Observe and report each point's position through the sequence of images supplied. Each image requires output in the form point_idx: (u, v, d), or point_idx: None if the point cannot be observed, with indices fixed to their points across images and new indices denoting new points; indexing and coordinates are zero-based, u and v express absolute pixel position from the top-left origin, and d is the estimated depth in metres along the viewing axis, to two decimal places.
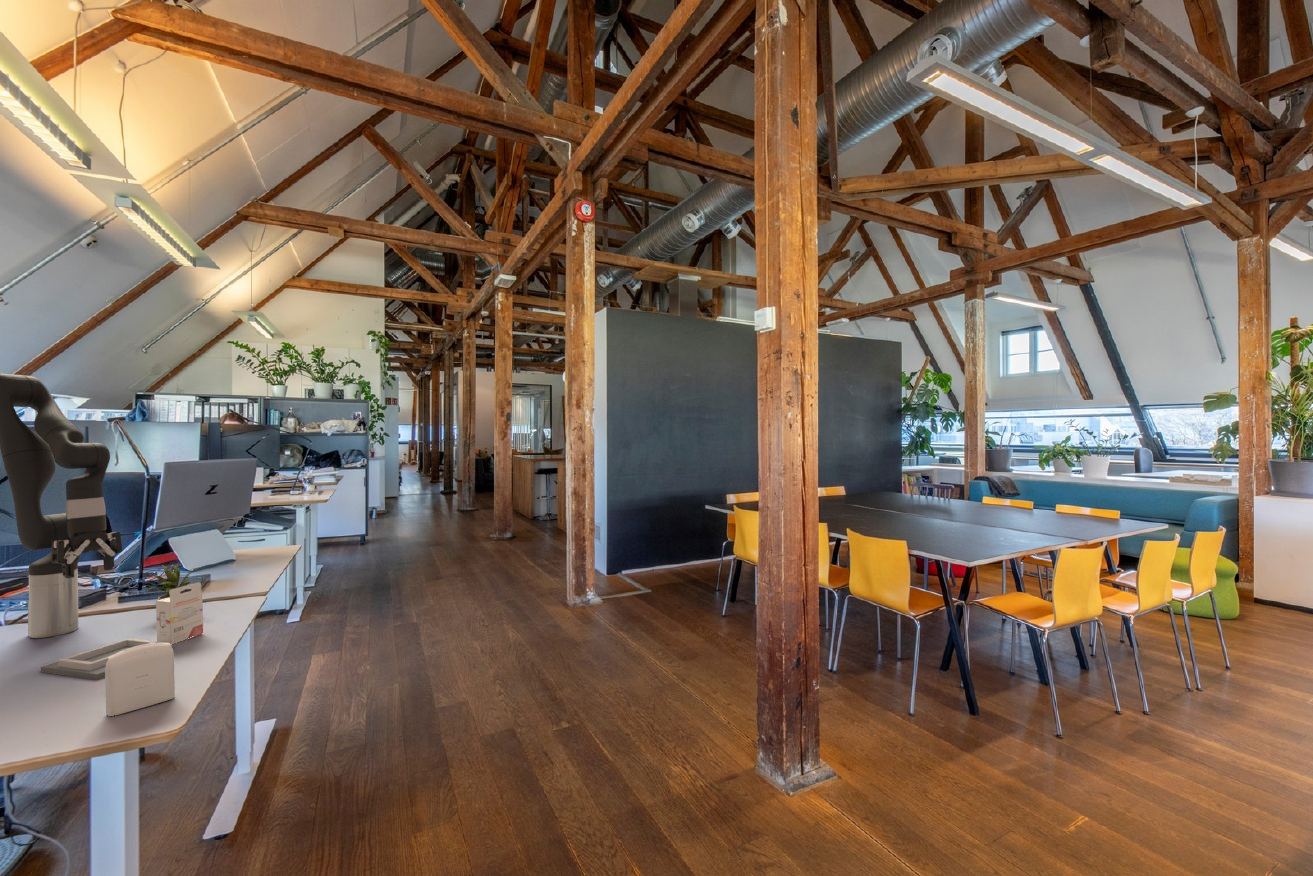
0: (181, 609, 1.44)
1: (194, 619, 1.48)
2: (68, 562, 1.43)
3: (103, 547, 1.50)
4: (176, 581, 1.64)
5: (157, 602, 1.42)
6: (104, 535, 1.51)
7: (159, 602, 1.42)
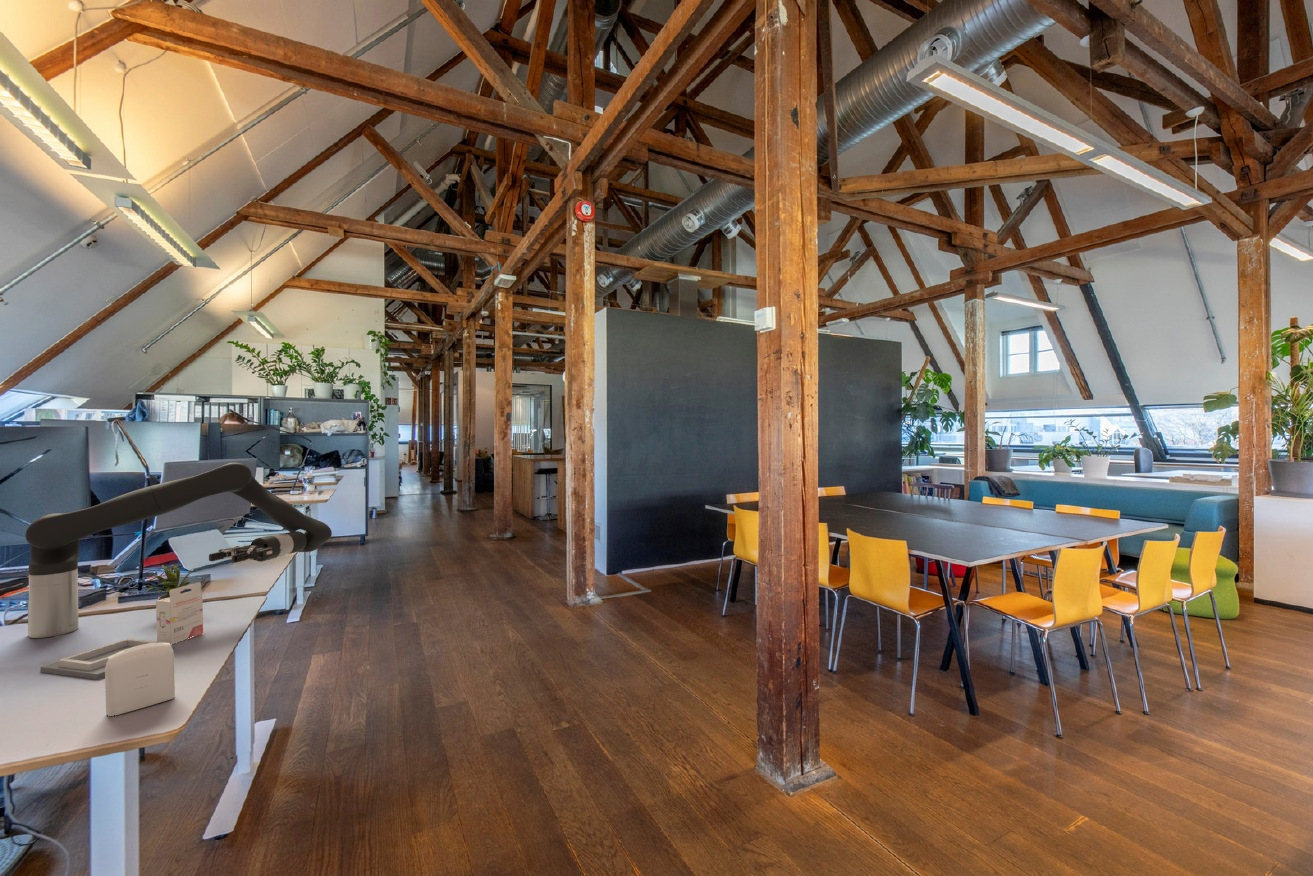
0: (181, 609, 1.44)
1: (194, 619, 1.48)
2: None
3: None
4: (176, 581, 1.64)
5: (157, 602, 1.42)
6: None
7: (159, 602, 1.42)
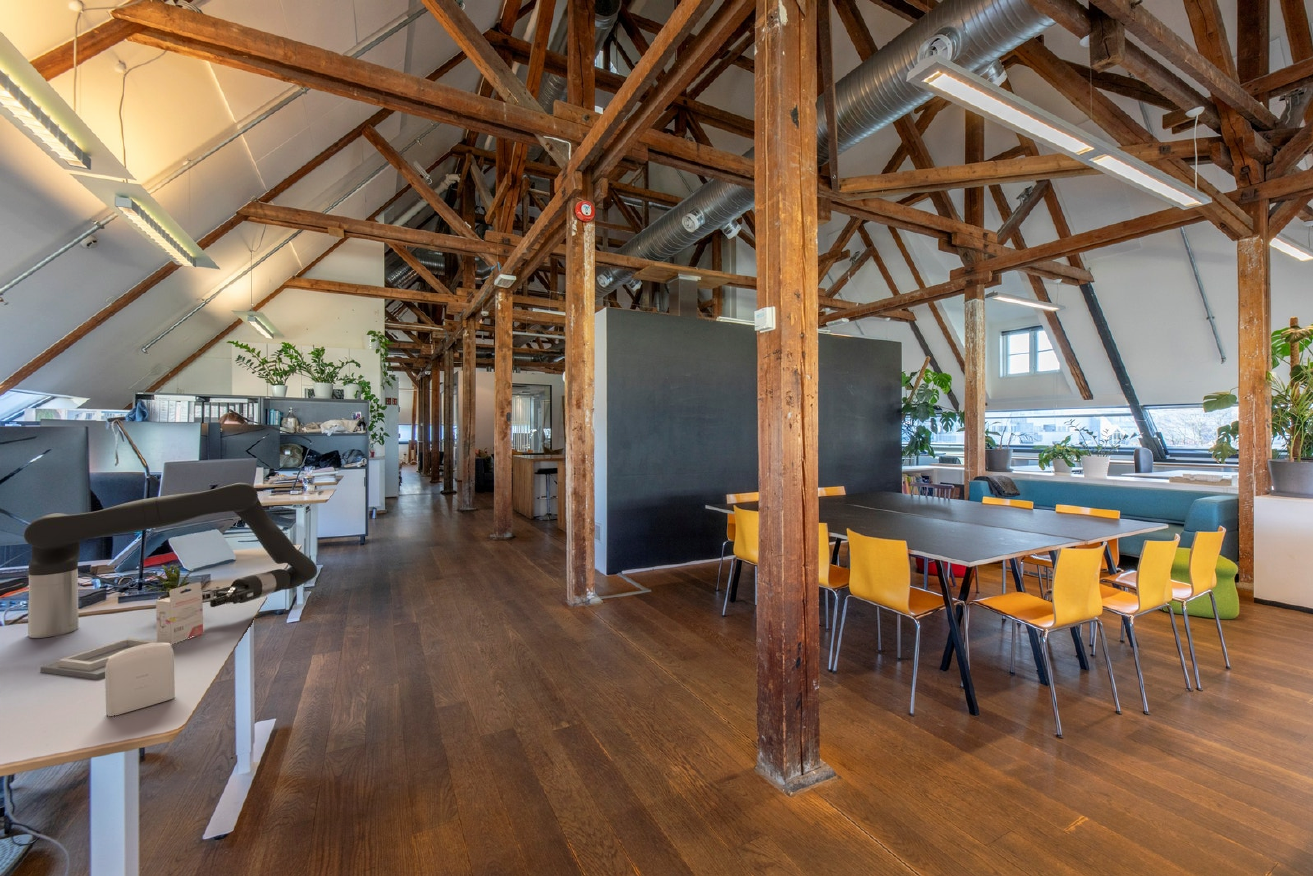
0: (181, 609, 1.44)
1: (194, 619, 1.48)
2: (228, 603, 1.54)
3: None
4: (176, 581, 1.64)
5: (157, 602, 1.42)
6: None
7: (159, 602, 1.42)
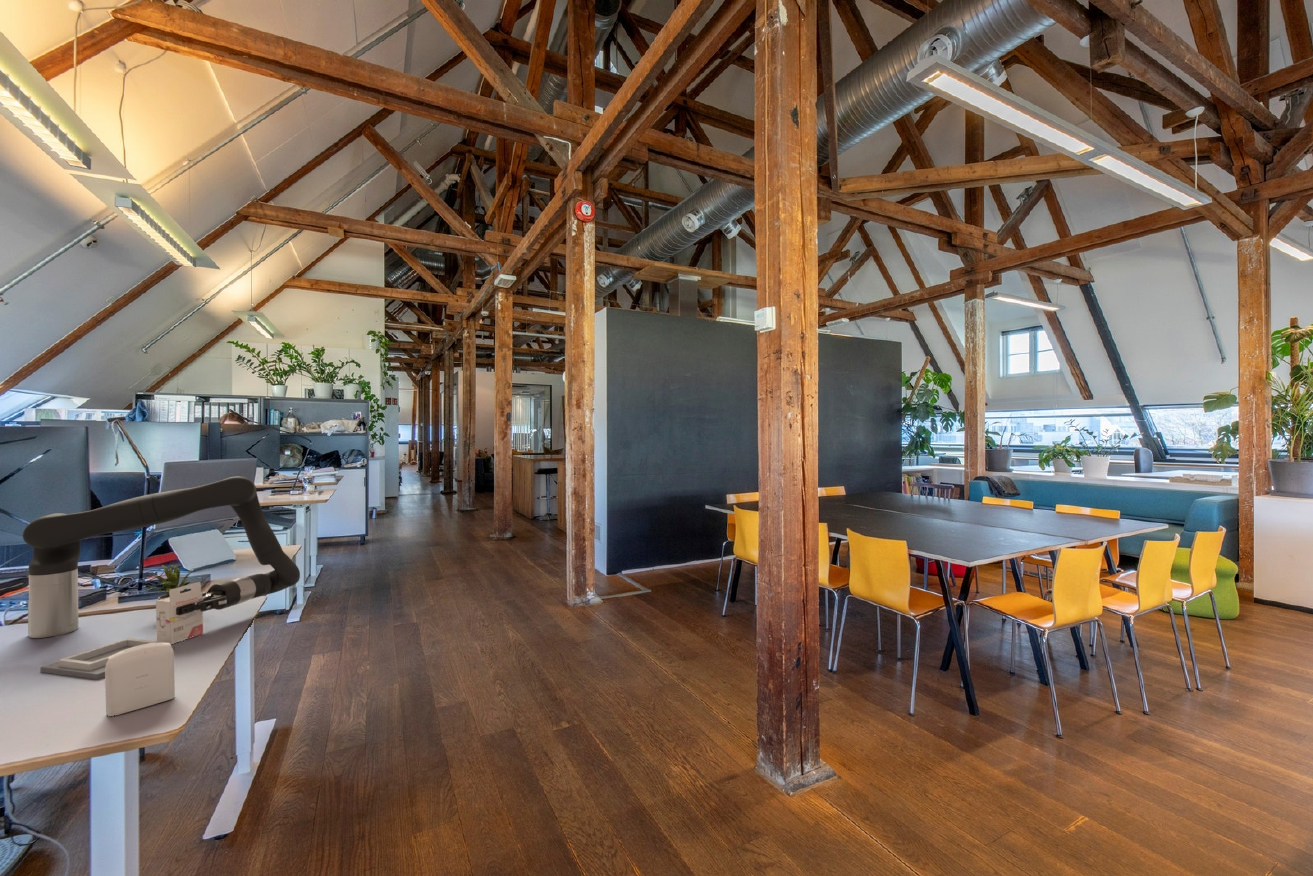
0: None
1: (194, 619, 1.48)
2: (195, 611, 1.47)
3: None
4: (176, 581, 1.64)
5: (157, 602, 1.42)
6: None
7: (159, 602, 1.42)
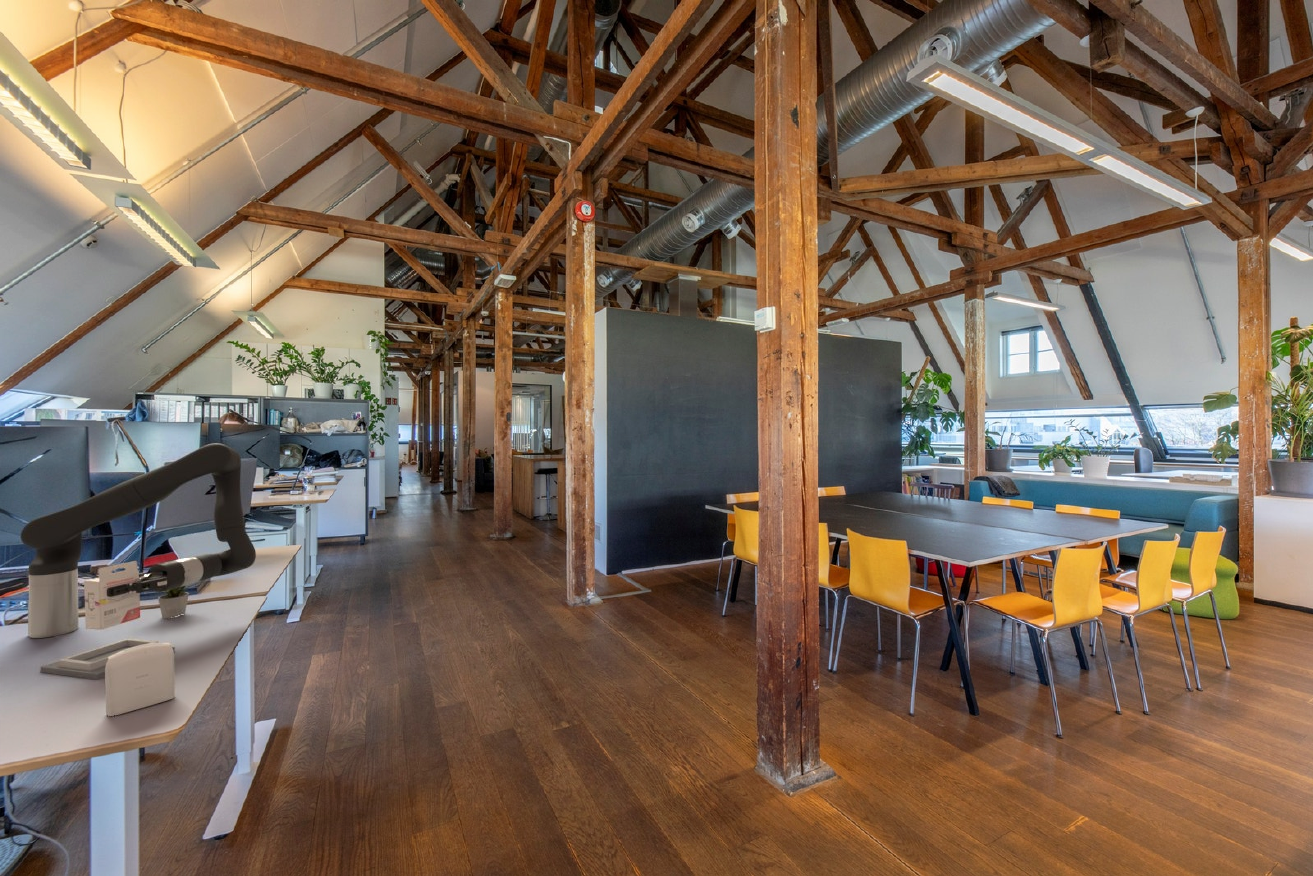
0: None
1: (129, 602, 1.34)
2: None
3: None
4: None
5: (85, 582, 1.28)
6: None
7: (87, 582, 1.28)
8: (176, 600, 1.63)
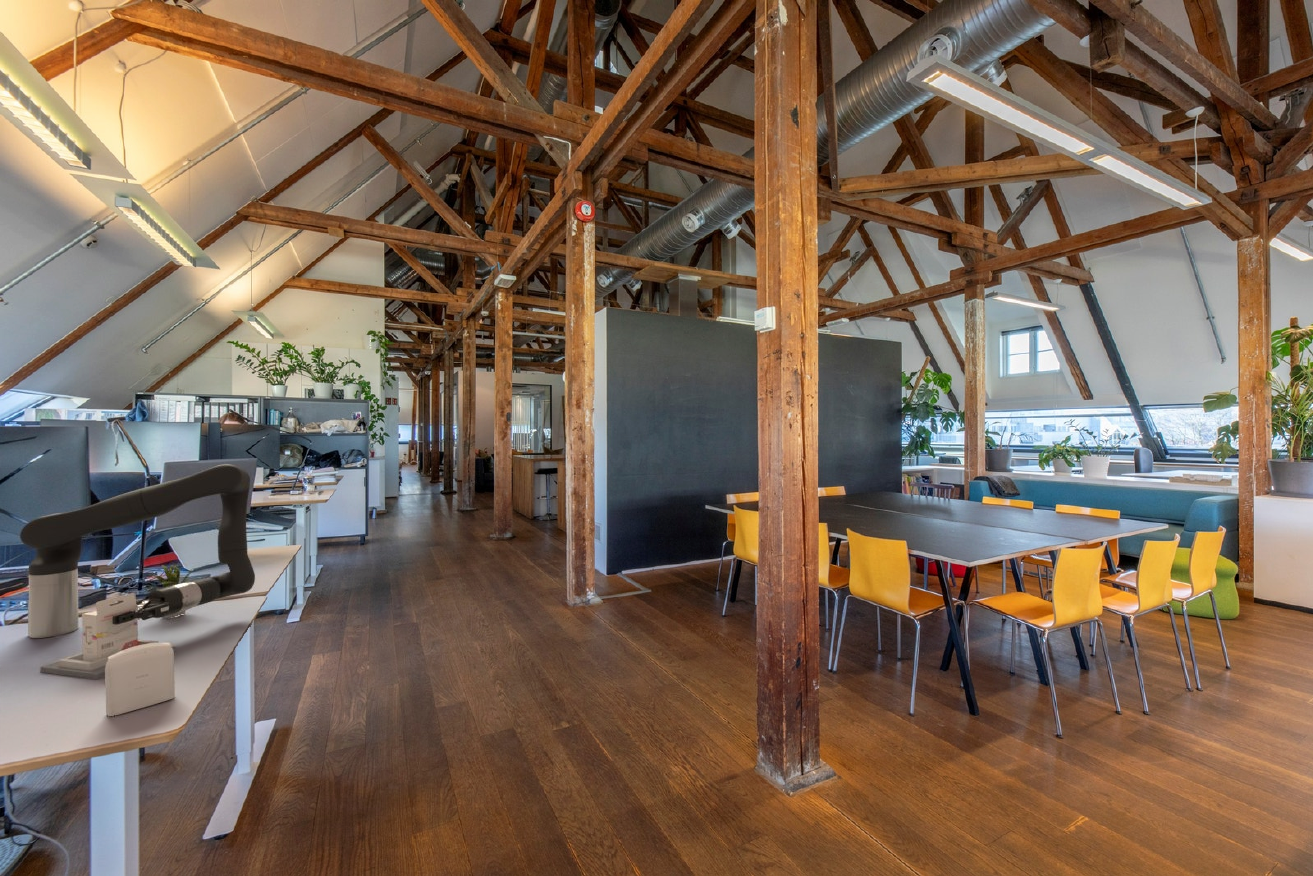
0: (111, 624, 1.30)
1: (127, 634, 1.33)
2: (136, 619, 1.33)
3: None
4: (176, 581, 1.64)
5: (83, 615, 1.28)
6: None
7: (85, 615, 1.28)
8: None
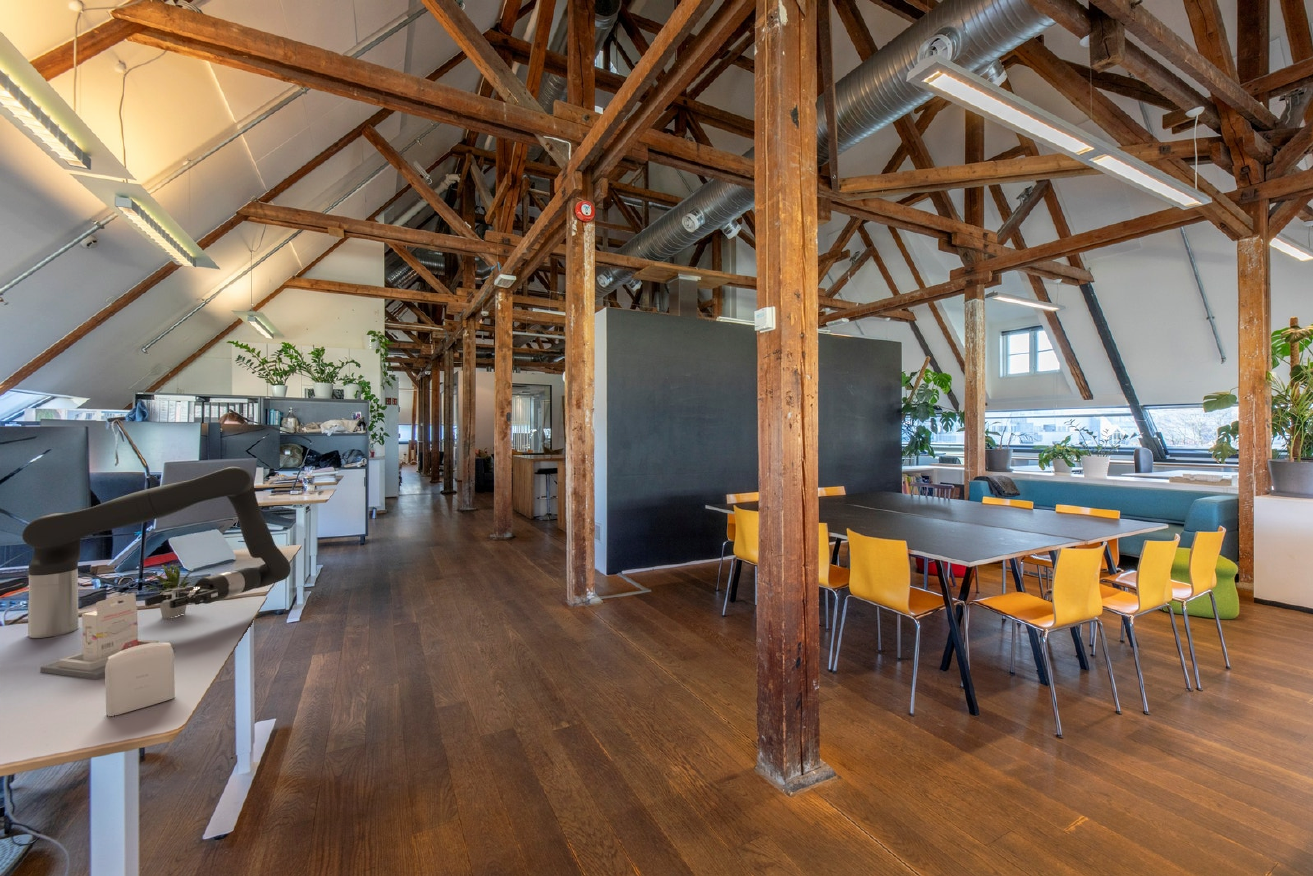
0: (111, 624, 1.30)
1: (127, 634, 1.33)
2: (190, 604, 1.45)
3: None
4: (176, 581, 1.64)
5: (83, 615, 1.28)
6: None
7: (85, 615, 1.28)
8: None
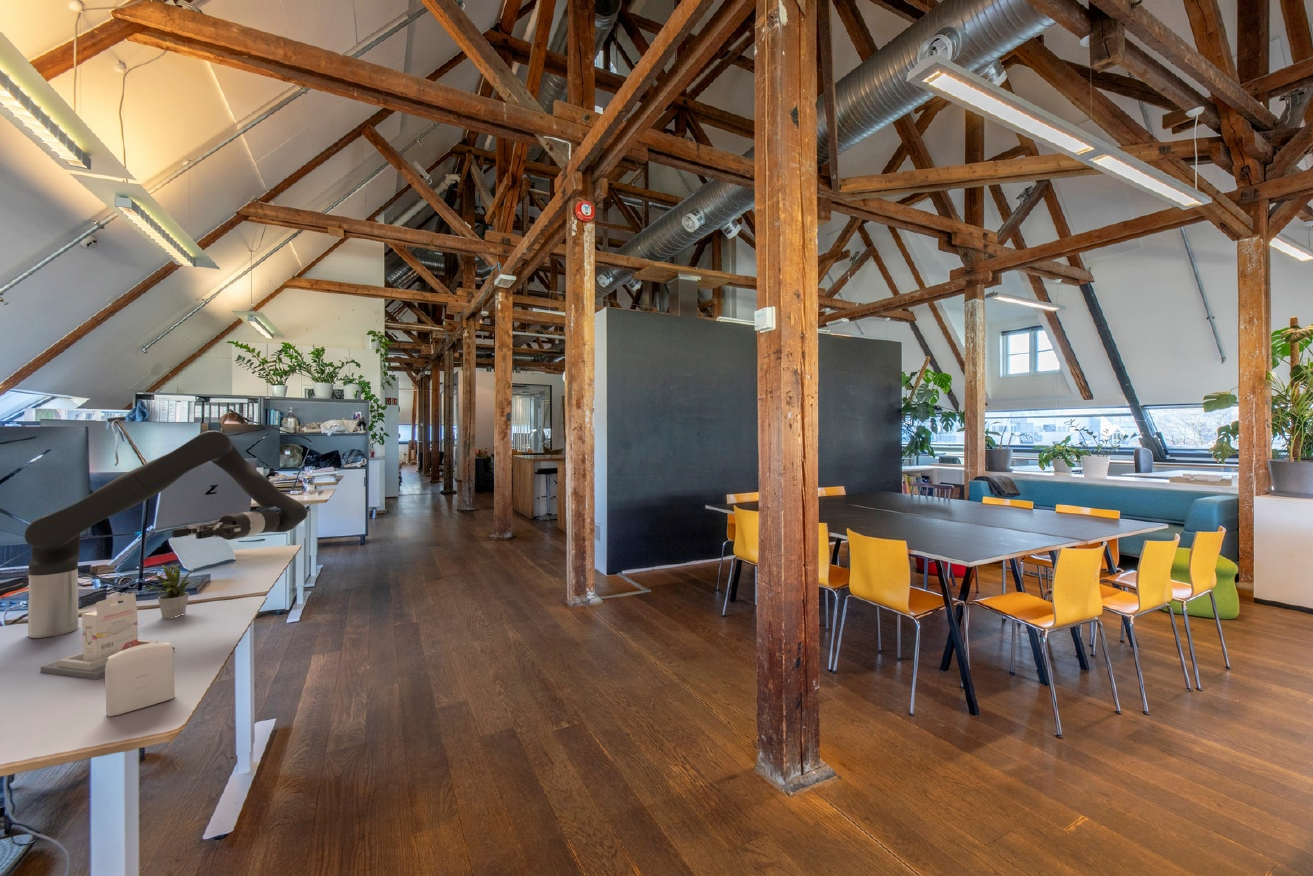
0: (111, 624, 1.30)
1: (127, 634, 1.33)
2: (215, 536, 1.51)
3: None
4: (176, 581, 1.64)
5: (83, 615, 1.28)
6: None
7: (85, 615, 1.28)
8: (176, 600, 1.63)
